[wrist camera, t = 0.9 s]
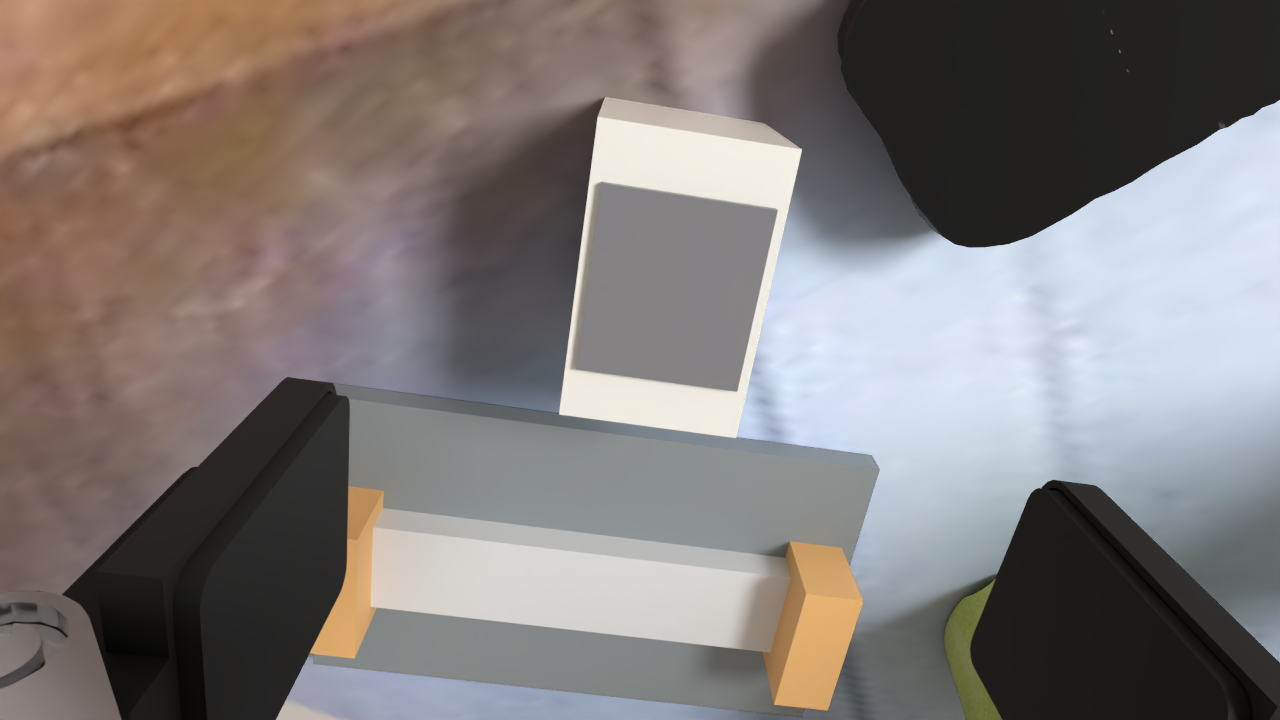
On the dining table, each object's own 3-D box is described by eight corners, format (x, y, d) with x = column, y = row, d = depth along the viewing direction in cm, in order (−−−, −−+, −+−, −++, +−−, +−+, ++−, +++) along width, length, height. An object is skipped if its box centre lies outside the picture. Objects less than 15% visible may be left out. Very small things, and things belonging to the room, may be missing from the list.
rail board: (871, 455, 29) (906, 516, 26) (797, 698, 34) (817, 780, 30) (323, 382, 28) (276, 435, 24) (322, 645, 32) (283, 725, 29)
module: (763, 122, 25) (803, 150, 19) (715, 356, 28) (736, 441, 22) (605, 97, 24) (597, 117, 19) (573, 336, 27) (558, 417, 22)
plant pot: (885, 713, 34) (963, 921, 26) (918, 530, 31) (1020, 707, 23) (1099, 713, 34) (1242, 921, 26) (1157, 532, 31) (1342, 708, 23)
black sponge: (909, 250, 27) (950, 282, 23) (802, 12, 24) (831, 9, 20) (1413, -16, 24) (1544, -24, 20) (1361, -324, 21) (1504, -392, 17)
